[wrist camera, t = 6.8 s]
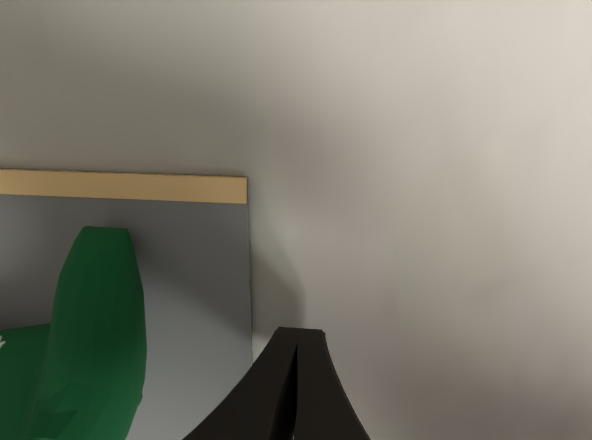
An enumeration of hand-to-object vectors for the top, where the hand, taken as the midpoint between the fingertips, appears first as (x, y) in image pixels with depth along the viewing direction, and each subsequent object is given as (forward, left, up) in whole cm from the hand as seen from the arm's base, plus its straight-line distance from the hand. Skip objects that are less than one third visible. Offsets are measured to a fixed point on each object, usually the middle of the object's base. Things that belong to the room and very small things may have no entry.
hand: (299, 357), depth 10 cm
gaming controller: (+9, 0, -1) cm, 9 cm away
